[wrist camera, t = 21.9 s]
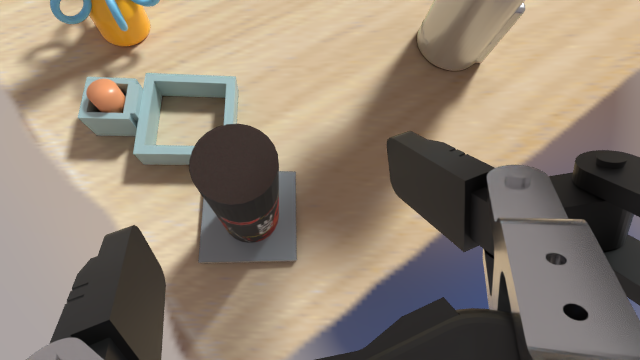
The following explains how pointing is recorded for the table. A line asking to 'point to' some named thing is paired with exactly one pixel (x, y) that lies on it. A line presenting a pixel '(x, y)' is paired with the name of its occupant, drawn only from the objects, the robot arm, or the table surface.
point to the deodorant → (238, 179)
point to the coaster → (271, 249)
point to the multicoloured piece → (113, 18)
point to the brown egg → (106, 96)
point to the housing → (156, 111)
